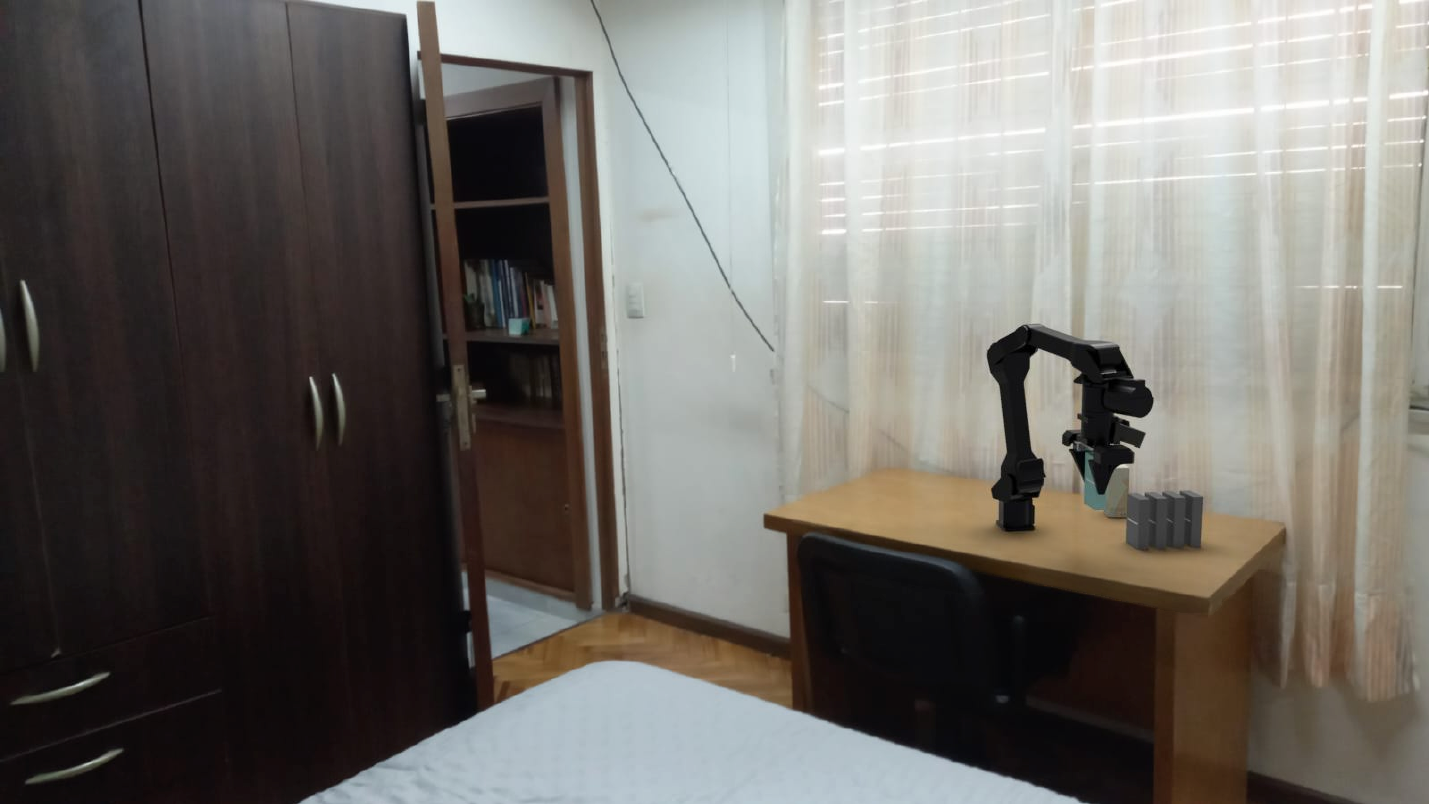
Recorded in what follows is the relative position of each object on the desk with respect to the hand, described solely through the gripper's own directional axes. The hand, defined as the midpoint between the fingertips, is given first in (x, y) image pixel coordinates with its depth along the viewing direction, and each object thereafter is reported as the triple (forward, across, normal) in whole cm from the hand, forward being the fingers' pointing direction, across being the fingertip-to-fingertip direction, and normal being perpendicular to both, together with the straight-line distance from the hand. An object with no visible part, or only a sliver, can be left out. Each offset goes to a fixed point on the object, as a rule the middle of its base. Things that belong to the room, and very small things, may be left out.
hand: (1095, 490), depth 181 cm
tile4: (+13, +5, -18) cm, 22 cm away
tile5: (+13, +5, -21) cm, 25 cm away
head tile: (+3, 0, 0) cm, 3 cm away
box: (+13, +26, -16) cm, 33 cm away
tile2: (+13, +5, -11) cm, 17 cm away
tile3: (+13, +5, -14) cm, 20 cm away
